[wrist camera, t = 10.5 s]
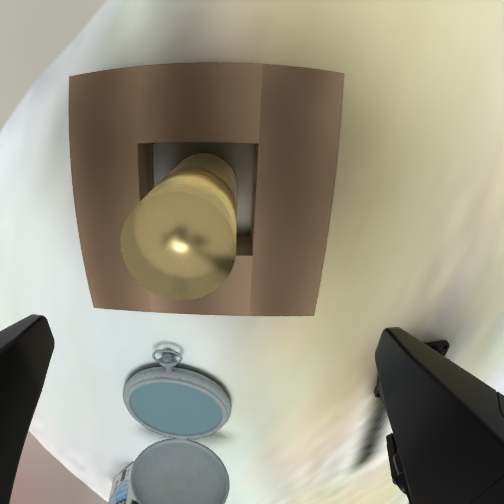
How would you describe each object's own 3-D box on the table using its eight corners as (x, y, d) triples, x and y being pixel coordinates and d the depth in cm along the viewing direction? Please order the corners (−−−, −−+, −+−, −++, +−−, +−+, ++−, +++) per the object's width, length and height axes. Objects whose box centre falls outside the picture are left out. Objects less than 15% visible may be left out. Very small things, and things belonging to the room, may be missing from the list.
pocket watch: (126, 518, 20) (64, 446, 14) (141, 434, 30) (109, 336, 23) (231, 529, 20) (231, 471, 14) (230, 441, 30) (232, 344, 24)
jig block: (328, 78, 16) (344, 73, 13) (305, 290, 22) (314, 315, 19) (92, 79, 15) (69, 76, 13) (108, 284, 21) (93, 307, 18)
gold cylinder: (238, 154, 18) (238, 192, 10) (235, 218, 20) (234, 301, 11) (169, 153, 18) (115, 192, 10) (171, 217, 19) (128, 297, 11)
